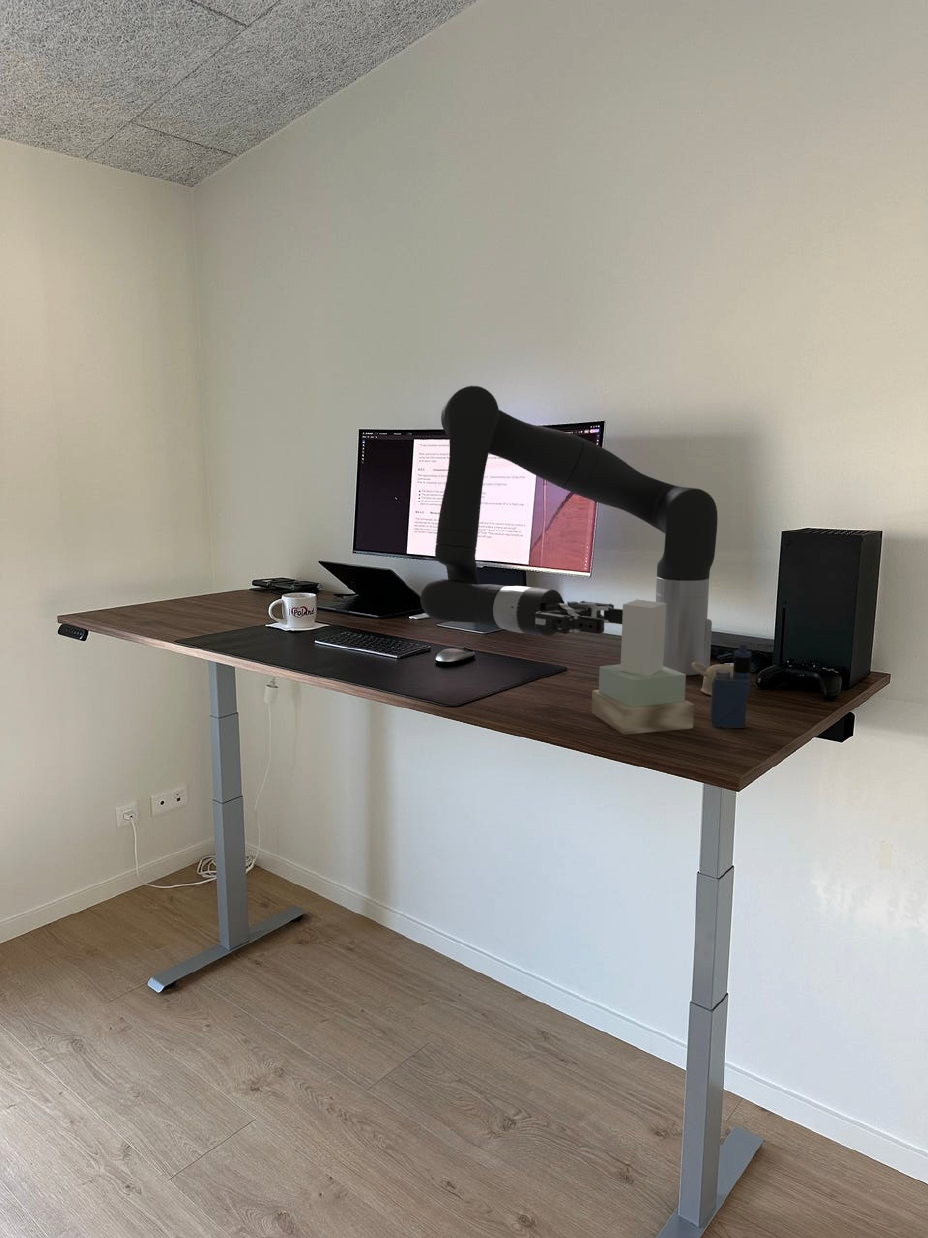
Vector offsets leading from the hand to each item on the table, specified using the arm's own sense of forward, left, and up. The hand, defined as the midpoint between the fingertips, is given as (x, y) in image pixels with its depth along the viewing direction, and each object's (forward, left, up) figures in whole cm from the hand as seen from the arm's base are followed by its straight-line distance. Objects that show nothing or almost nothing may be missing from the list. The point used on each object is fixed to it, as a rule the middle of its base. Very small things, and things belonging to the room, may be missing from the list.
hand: (617, 622), depth 126 cm
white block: (-3, +3, -7) cm, 8 cm away
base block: (-3, +3, -15) cm, 15 cm away
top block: (-3, +3, -11) cm, 12 cm away
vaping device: (-14, +10, -15) cm, 22 cm away
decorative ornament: (-22, -6, -15) cm, 27 cm away
